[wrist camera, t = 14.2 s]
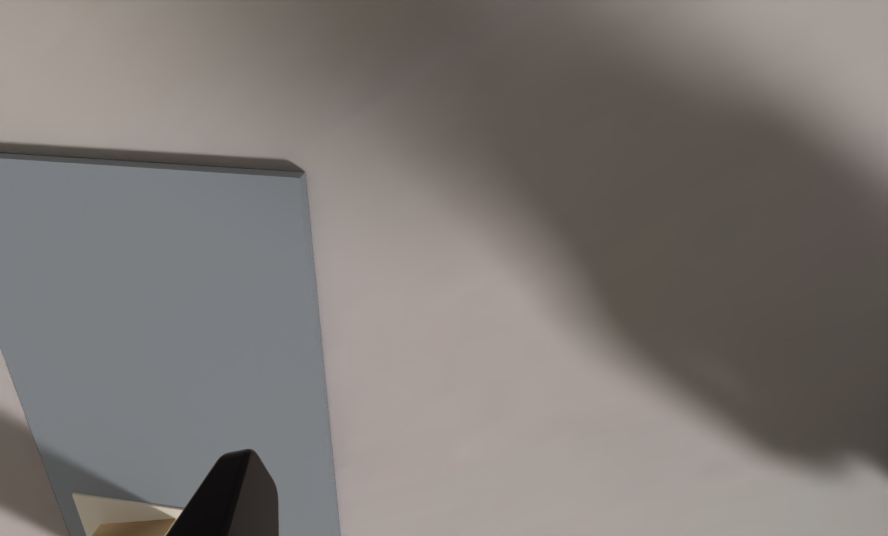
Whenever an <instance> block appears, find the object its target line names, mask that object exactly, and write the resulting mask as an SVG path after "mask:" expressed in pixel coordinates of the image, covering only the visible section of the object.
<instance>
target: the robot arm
mask: <svg viewBox="0 0 888 536" xmlns="http://www.w3.org/2000/svg"><path fill="white" fill-rule="evenodd" d="M166 536H279V504H278V492H277V487H276V484H275V482H274V480H273V478H272V477H271V475H270V474H269V472H268V470H267V469H266V467H265V465H264V464H263V462H262V461H261V459H260V457H259V456H258V454H257V453H256V452H255V451H254V450H252V449H244V450H239V451H233V452H228V453H225V454H223V455H222V456H221V457H220V458H219V459H218V460H217V461H216V463H215V464H214V466H213V467H212V469H211V470H210V471H209V473H208V474H207V476H206V477H205V479H204V480H203V482H202V483H201V485H200V486H199V488H198V489H197V490H196V492H195V493H194V495H193V496H192V498H191V499H190V501H189V502H188V504H187V505H186V507H185V508H184V509H183V511H182V512H181V514H180V515H179V517H178V518H177V520H176V521H175V523H174V524H173V526H172V527H171V528H170V530H169V531H168V533H167V534H166Z"/></svg>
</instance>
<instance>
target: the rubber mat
mask: <svg viewBox="0 0 888 536" xmlns="http://www.w3.org/2000/svg"><path fill="white" fill-rule="evenodd" d="M0 348H1V350H2V353H3V356H4V358H5V361H6V364H7V367H8V369H9V372H10V375H11V377H12V380H13V383H14V386H15V388H16V391H17V394H18V396H19V399H20V402H21V405H22V407H23V410H24V413H25V415H26V418H27V421H28V424H29V426H30V429H31V432H32V434H33V437H34V440H35V443H36V445H37V448H38V451H39V453H40V456H41V459H42V462H43V464H44V467H45V470H46V472H47V475H48V478H49V481H50V483H51V486H52V489H53V491H54V494H55V497H56V500H57V502H58V505H59V508H60V510H61V513H62V516H63V519H64V521H65V524H66V527H67V529H68V532H69V535H70V536H92V535H93V533H94V532H95V531H96V530H97V528H98V527H99V526H100V524H110V523H123V522H136V521H150V520H163V519H176V520H177V518H178V517H179V515H180V514H181V512H182V511H183V509H184V508H185V507H186V505H187V504H188V502H189V501H190V499H191V498H192V496H193V495H194V493H195V492H196V490H197V489H198V488H199V486H200V485H201V483H202V482H203V480H204V479H205V477H206V476H207V474H208V473H209V471H210V470H211V469H212V467H213V466H214V464H215V463H216V461H217V460H218V459H219V458H220V457H221V456H222V455H223V454H225V453H228V452H233V451H239V450H244V449H252V450H254V451H255V452H256V453H257V454H258V456H259V457H260V459H261V461H262V462H263V464H264V465H265V467H266V469H267V470H268V472H269V474H270V475H271V477H272V478H273V480H274V482H275V484H276V487H277V492H278V504H279V536H340V526H339V515H338V505H337V495H336V484H335V474H334V464H333V453H332V443H331V433H330V422H329V412H328V402H327V391H326V381H325V371H324V360H323V350H322V340H321V329H320V319H319V309H318V298H317V288H316V278H315V268H314V257H313V247H312V237H311V226H310V216H309V206H308V195H307V185H306V175H305V172H290V171H275V170H259V169H244V168H228V167H213V166H197V165H181V164H166V163H150V162H135V161H119V160H104V159H88V158H72V157H57V156H41V155H26V154H10V153H0Z"/></svg>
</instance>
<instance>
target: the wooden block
mask: <svg viewBox="0 0 888 536" xmlns="http://www.w3.org/2000/svg"><path fill="white" fill-rule="evenodd" d="M175 521H176V519H163V520H150V521H136V522H123V523H110V524H100V526H99V527H98V528H97V530H96V531H95V532H94V533H93V535H92V536H166V534H167V533H168V531H169V530H170V528H171V527H172V526H173V524H174V523H175Z"/></svg>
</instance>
